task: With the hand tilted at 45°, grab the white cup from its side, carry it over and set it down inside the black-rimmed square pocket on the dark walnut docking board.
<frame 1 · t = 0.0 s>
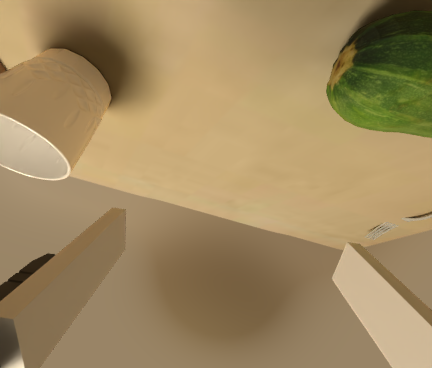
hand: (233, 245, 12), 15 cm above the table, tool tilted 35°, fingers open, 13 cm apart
white cup: (79, 82, 22), on the table
vegetable: (431, 76, 18), on the table
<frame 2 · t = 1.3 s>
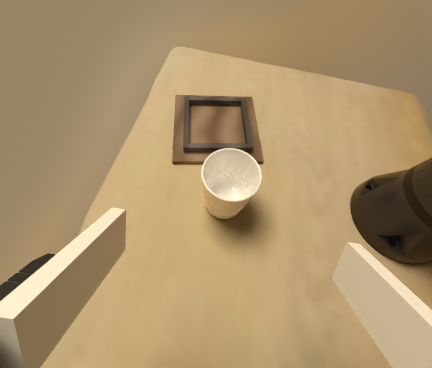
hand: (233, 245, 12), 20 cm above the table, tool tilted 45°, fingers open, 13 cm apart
white cup: (223, 201, 35), on the table
dock board: (216, 128, 42), on the table
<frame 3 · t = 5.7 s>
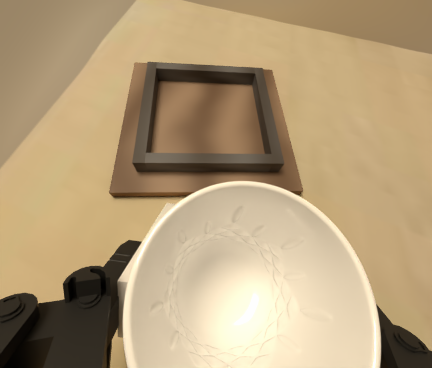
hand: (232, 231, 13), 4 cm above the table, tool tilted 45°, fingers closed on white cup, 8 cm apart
white cup: (220, 287, 15), on the table, touching gripper
dock board: (207, 123, 22), on the table
when the fingers open (6 cm above the table, at t = 11.4 s): white cup drops 2 cm, resting on dock board.
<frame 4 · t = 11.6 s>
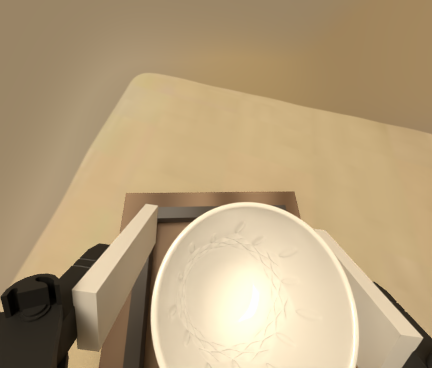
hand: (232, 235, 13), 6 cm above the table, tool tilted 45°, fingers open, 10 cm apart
white cup: (223, 290, 17), point 1 cm above the table, touching dock board
dock board: (217, 286, 17), on the table
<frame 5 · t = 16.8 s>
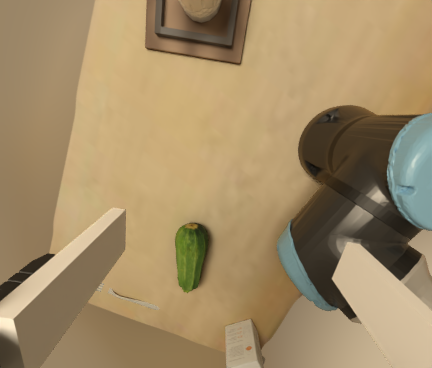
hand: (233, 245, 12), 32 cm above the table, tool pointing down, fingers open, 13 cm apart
small box: (241, 327, 58), on the table
fork: (127, 295, 56), on the table
vegetable: (191, 252, 51), on the table
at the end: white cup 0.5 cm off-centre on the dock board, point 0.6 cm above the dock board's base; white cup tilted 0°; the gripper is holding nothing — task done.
